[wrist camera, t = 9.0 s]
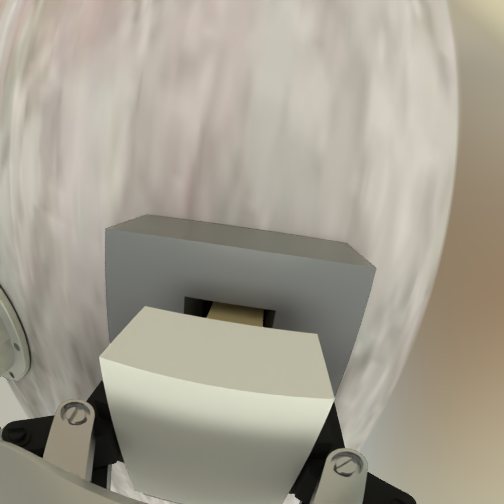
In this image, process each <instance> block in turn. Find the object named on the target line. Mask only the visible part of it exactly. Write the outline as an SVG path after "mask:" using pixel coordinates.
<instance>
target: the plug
mask: <svg viewBox="0 0 504 504" xmlns="http://www.w3.org/2000/svg"><path fill="white" fill-rule="evenodd" d="M263 312H264V309H261V308H254V307H247V306H241V305H234V304H227V303H221V302H215V301H214V302H213V304H212V307H211V309H210V311H209V313H208V316H207V318H203V317H197V316H192V315H186V314H181V313H176V312H171V311H166V310H161V309H157V308H152V307H147V306H144V308H143V309H142V310H141V311H140V312H139V313H138V314H137V315H136V316H135V317H134V318H133V319H132V321H131V322H130V323H129V324H128V325H127V326H126V327H125V328H124V329H123V330H122V332H121V333H120V334H119V335H118V336H117V337H116V338H115V339H114V340H113V341H112V343H111V344H110V345H109V346H108V347H107V348H106V349H105V350H104V352H103V353H102V354H101V355H100V356H99V360H100V366H101V372H102V377H103V383H104V388H105V392H106V397H107V401H108V406H109V410H110V414H111V418H112V422H113V426H114V429H115V433H116V437H117V440H118V443H119V447H120V450H121V453H122V456H123V459H124V462H125V465H126V468H127V471H128V474H129V477H130V480H131V482H132V485H133V487H134V490H135V491H138V492H141V493H144V494H147V495H151V496H154V497H158V498H161V499H165V500H169V501H173V502H177V503H181V504H282V503H283V502H284V500H285V498H286V497H287V495H288V493H289V491H290V490H291V488H292V486H293V484H294V483H295V481H296V479H297V477H298V475H299V473H300V472H301V470H302V468H303V466H304V464H305V462H306V460H307V458H308V456H309V454H310V452H311V450H312V448H313V446H314V444H315V442H316V440H317V438H318V436H319V434H320V431H321V429H322V427H323V425H324V423H325V421H326V418H327V416H328V414H329V411H330V409H331V407H332V404H333V402H334V400H335V398H334V394H333V391H332V387H331V383H330V379H329V375H328V371H327V368H326V364H325V360H324V357H323V353H322V349H321V346H320V342H319V339H318V335H317V334H314V333H305V332H296V331H288V330H280V329H272V328H265V327H263Z"/></svg>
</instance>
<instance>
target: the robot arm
mask: <svg viewBox="0 0 504 504" xmlns="http://www.w3.org/2000/svg"><path fill="white" fill-rule="evenodd" d="M29 365H30V357H29V351H28V345H27V342H26V338H25V335H24V332H23V330H22V327H21V324H20V322H19V320H18V318H17V315H16V313H15V311H14V309H13V307H12V306H11V304H10V302H9V300H8V299H7V297H6V295H5V294H4V292H3V291H2V289H1V288H0V377H1V376H3V377H4V378H7V379H9V380H13V381H17V380H20V379H21V378H22V377H23V376H24V375H26V373H27V372H28V369H29ZM117 460H118V461H120V462H123V463H125V462H124V459H123V456H122V453H121V450H120V447H119V443H118V440H117V437H116V433H115V429H114V426H113V422H112V418H111V414H110V410H109V406H108V401H107V397H106V392H105V388H104V383H103V380H102V381H101V383H100V384H99V385H98V386H97V388H96V389H95V390H94V392H93V393H92V394H91V396H90V397H89V398H88V400H87V401H83V400H80V399H71V400H67V401H65V402H62V403H61V404H60V405H59V406H58V408H57V410H56V413H55V415H53V416H47V417H41V418H34V419H27V420H19V421H13V422H10V423H8V424H7V425H6V426H5V427H4V428H3V429H1V427H0V504H147V503H144V502H141V501H138V500H135V499H132V498H129V497H126V496H123V495H120V494H118V493H115V492H112V491H110V487H111V467H112V464H114V463H116V462H117ZM367 471H368V462H367V460H366V458H365V457H364V456H363V455H362V454H361V453H359V452H358V451H356V450H353V449H348V448H345V446H344V441H343V437H342V433H341V428H340V424H339V420H338V416H337V412H336V407H335V403H334V402H333V404H332V407H331V409H330V411H329V414H328V416H327V418H326V421H325V423H324V425H323V427H322V429H321V431H320V434H319V436H318V438H317V440H316V442H315V444H314V446H313V448H312V450H311V452H310V454H309V456H308V458H307V460H306V462H305V464H304V466H303V468H302V470H301V472H300V473H299V475H298V477H297V479H296V481H295V483H294V484H293V486H292V488H291V490H290V491H289V494H295V497H296V498H297V499H299V500H300V503H299V504H416V501H415V500H414V498H413V497H412V496H410V495H409V494H407V493H405V492H403V491H401V490H399V489H398V488H396V487H394V486H392V485H390V484H388V483H386V482H385V481H383V480H381V479H379V478H378V477H376V476H374V475H372V474H371V473H369V472H367Z"/></svg>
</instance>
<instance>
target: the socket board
mask: <svg viewBox="0 0 504 504" xmlns="http://www.w3.org/2000/svg"><path fill="white" fill-rule="evenodd" d="M375 271H376V267H375V266H373V265H372V264H371V263H370V262H369V261H367V260H366V259H365V258H364V257H363V256H362V255H360V254H359V253H358V252H357V251H355V250H354V249H353V248H352V247H351V246H349V245H348V244H347V243H342V242H336V241H330V240H323V239H317V238H311V237H304V236H298V235H291V234H285V233H278V232H272V231H265V230H258V229H251V228H244V227H237V226H230V225H223V224H216V223H208V222H201V221H193V220H186V219H178V218H170V217H162V216H154V215H144V216H141V217H138V218H135V219H132V220H129V221H126V222H123V223H120V224H117V225H114V226H111V227H108V228H106V231H105V278H106V301H107V316H108V328H109V338H110V344H111V343H112V341H113V340H114V339H115V338H116V337H117V336H118V335H119V334H120V333H121V332H122V330H123V329H124V328H125V327H126V326H127V325H128V324H129V323H130V322H131V321H132V319H133V318H134V317H135V316H136V315H137V314H138V313H139V312H140V311H141V310H142V309H143V308H144V306H147V307H152V308H157V309H161V310H166V311H171V312H176V313H181V314H186V315H192V316H197V317H202V308H203V300H209V301H215V302H221V303H227V304H234V305H241V306H247V307H254V308H261V309H267V313H266V319H265V325H264V327H265V328H272V329H280V330H288V331H296V332H305V333H314V334H317V335H318V339H319V342H320V346H321V349H322V353H323V357H324V360H325V364H326V368H327V371H328V375H329V379H330V383H331V387H332V391H333V394H334V397H335V395H336V393H337V390H338V387H339V385H340V382H341V380H342V377H343V374H344V372H345V369H346V366H347V364H348V361H349V358H350V355H351V352H352V349H353V346H354V343H355V340H356V337H357V334H358V331H359V328H360V325H361V322H362V318H363V315H364V312H365V308H366V305H367V301H368V298H369V294H370V291H371V287H372V283H373V279H374V275H375ZM143 494H144V493H143ZM144 495H147V494H144ZM148 496H151V495H148ZM151 497H154V496H151ZM155 498H158V497H155ZM158 499H161V498H158ZM162 500H165V499H162ZM166 501H169V500H166ZM170 502H173V501H170ZM174 503H177V502H174ZM178 504H181V503H178Z"/></svg>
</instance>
